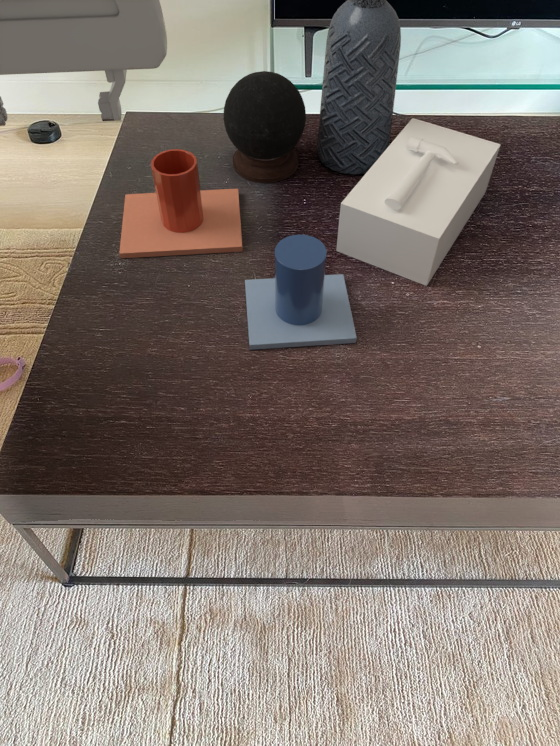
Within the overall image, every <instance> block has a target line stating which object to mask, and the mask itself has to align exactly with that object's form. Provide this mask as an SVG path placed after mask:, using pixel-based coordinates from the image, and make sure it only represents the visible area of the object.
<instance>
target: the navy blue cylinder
mask: <svg viewBox="0 0 560 746" xmlns="http://www.w3.org/2000/svg"><path fill="white" fill-rule="evenodd" d="M327 254H328V251H327V247H326V245H325V244H324V243H323V242H322V241H321V240H320V239H318V238H317V237H314V236H312V235H308V234H293V235H289V236H286V237H284V238H283V239H281V240H280V241H278V243H277V244H276V245H275V248H274V278H275V311H276V314H277V315H278V317H279V318H280V319H281V320H283V321H284V322H286V323H289V324H292V325H306V324H309V323H312V322H314V321H315V320H316V319H318V318H319V316H320V315H321V313H322V306H323V293H324V281H325V275H326V268H327V267H326V266H327Z"/></svg>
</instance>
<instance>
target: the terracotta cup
mask: <svg viewBox="0 0 560 746" xmlns="http://www.w3.org/2000/svg"><path fill="white" fill-rule="evenodd" d="M150 168H151V173H152V174H151V175H152V179H153V184H154V190H155V193H156V195H157V201H158V206H159V211H160V216H161V220H162V224H163V226H164V227H165V228H166V229H168V230H170V231H172V232H177V233H185V232H190V231H193V230H195V229H196V228H198V227H199V226H200V225H201V224H202V222H203V219H204V216H203V206H202V198H201V182H200V173H199V166H198V158H197V157H196V155H195V154H194V153H193V152H190V151H189V150H186V149H181V148H174V149H173V148H170V149H167V150H163V151H160V152H159V153H157V154H156V155H154V156H153V158H152V159H151V161H150Z"/></svg>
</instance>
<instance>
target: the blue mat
mask: <svg viewBox="0 0 560 746" xmlns="http://www.w3.org/2000/svg"><path fill="white" fill-rule="evenodd" d="M244 289H245V303H246V304H245V305H246V317H247V329H248V345H249V350H250V351H253V350H254V351H255V350H269V349H284V348H285V349H286V348H296V347H297V348H298V347H315V346H328V345H329V346H331V345H343V344H344V345H345V344H356V343H357V341H358V336H357V333H356V328H355V324H354V318H353V314H352V309H351V305H350V300H349V294H348V290H347V285H346V280H345V275H344V273H338V274H325V281H324V293H323V306H322V313H321V315H320V316H319V318H318V319H316V320H315V321H314V322H312V323H309V324H306V325H292V324H289V323H286V322H284V321H283V320H281V319H280V318H279V317H278V315H277V314H276V311H275V277H273V278H270V277H269V278H254V279H244Z"/></svg>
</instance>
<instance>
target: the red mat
mask: <svg viewBox="0 0 560 746" xmlns="http://www.w3.org/2000/svg"><path fill="white" fill-rule="evenodd" d="M200 190H201V189H200ZM201 198H202V206H203V216H204V219H203V222H202V224H201V225H200V226H199V227H198V228H196V229H195V230H193V231H190V232H185V233H177V232H172V231H170V230H168V229H166V228H165V227H164V226H163V224H162V220H161V216H160V211H159V206H158V201H157V195H156V192H145V193H126V194H125V197H124V205H123V215H122V223H121V224H122V225H121V233H120V242H119V252H118V255H119V258H120V259H135V258H153V257H169V256H171V257H172V256H185V255H186V256H188V255H204V254H222V253H224V254H225V253H240V252H241V253H242V252H243V250H244V249H243V235H242V223H241V210H240V208H241V206H240V195H239V188H222V189H220V188H219V189H205V190H204V189H203V190H201Z"/></svg>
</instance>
